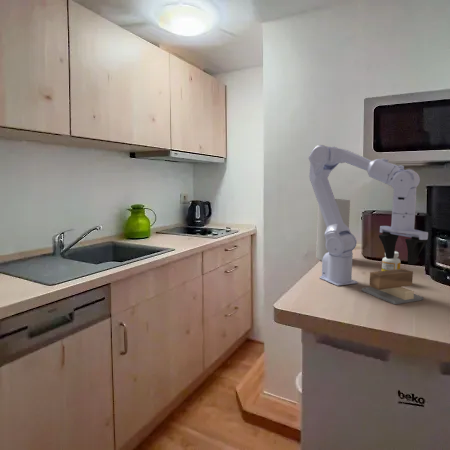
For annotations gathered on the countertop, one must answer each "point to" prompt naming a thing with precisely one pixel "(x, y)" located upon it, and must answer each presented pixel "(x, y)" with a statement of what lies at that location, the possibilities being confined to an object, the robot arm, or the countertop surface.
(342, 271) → the robot arm
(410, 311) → the countertop surface
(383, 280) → the walnut bar
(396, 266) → the supplement bottle
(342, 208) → the cylinder vase
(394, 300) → the board
